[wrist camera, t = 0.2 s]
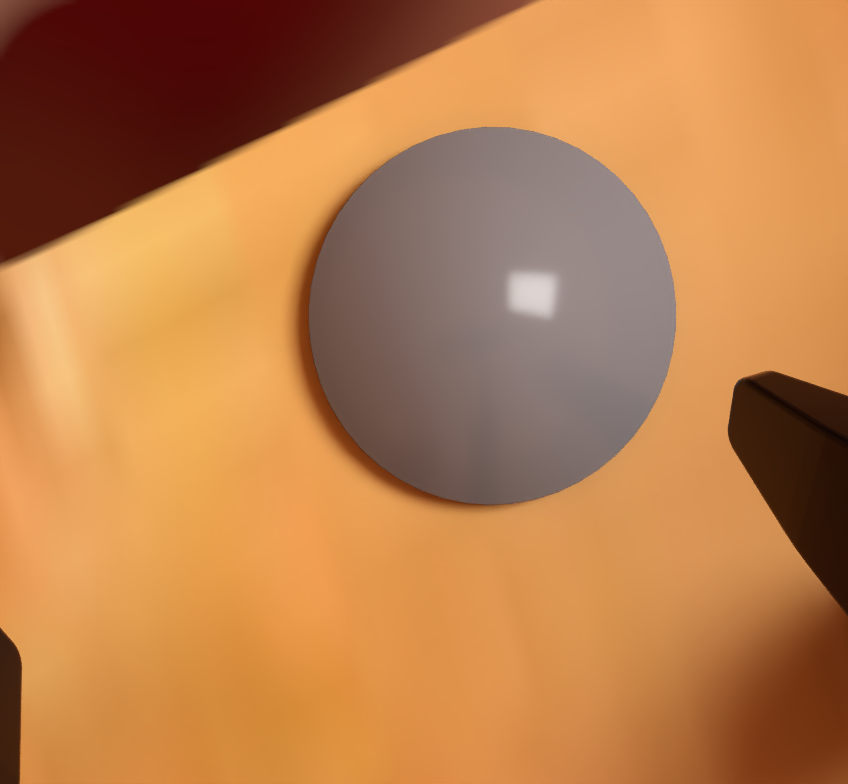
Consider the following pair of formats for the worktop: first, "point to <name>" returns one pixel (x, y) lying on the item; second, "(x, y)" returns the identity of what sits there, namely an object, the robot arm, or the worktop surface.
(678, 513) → the worktop surface
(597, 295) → the coaster
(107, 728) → the worktop surface
